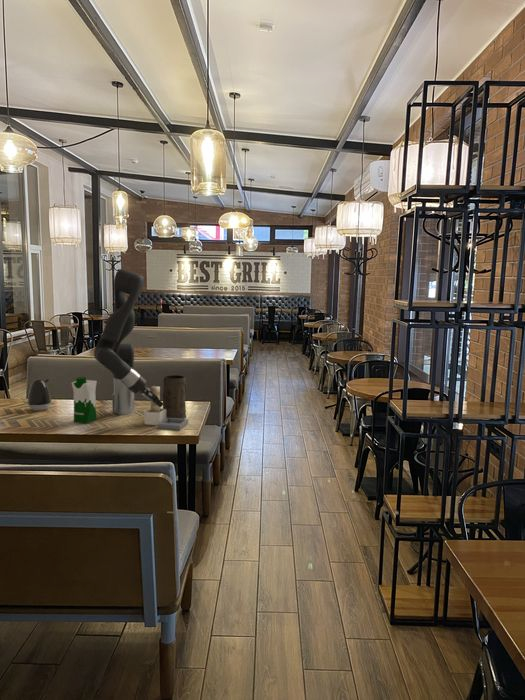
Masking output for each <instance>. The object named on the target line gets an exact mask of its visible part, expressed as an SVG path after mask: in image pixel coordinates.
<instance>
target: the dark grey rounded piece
mask: <svg viewBox="0 0 525 700" xmlns="http://www.w3.org/2000/svg"><path fill="white" fill-rule="evenodd" d="M48 382H50V379H49V378H47V379H45V380H43V379H42V378H37V379H34V380H33V381H32V383H31V385H30V389H29V392H28V397H27V405H28V406H29V408H30V410H32V411H34V412H43V411H46V410H47V409H49V408H50V406H51V403H52V397H51V393H50V390H49V387H48V385H47V383H48Z"/></svg>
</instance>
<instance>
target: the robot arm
mask: <svg viewBox="0 0 525 700" xmlns="http://www.w3.org/2000/svg"><path fill="white" fill-rule="evenodd" d="M144 284H145V278H144V276H143V275H141V274H139V273H136V272H134V271H131V270H128V269H125V268H119V269H118V270H117V271H116V273H115V276H114V280H113V297H114V302H113V303H114V304H113V313H111V314H110V316H109V317H108V318H107V320H106V323H105V325H104V327H103V331H102V335H101V336H100V338H99V340H98V342H97V344H96V345H95V348H94V351H93V356H94V358H95V360H96V361H97V362H98V363H100V364H101V365H102V366H103V367H104V368H106V369H107V370H108V371H109V372H111V374H112V375H113V393H112V394H111V397H112V398H111V400H112V403H111V405H112V406H111V407H112V414H115V415H118V416H124V415H129V414H130V415H131V414H133V413H134V412H135V394H138V393H139V394H140V395H141V396H143V397H144V398H146V399H147V400H150V401H151V400H152V401H153V402H154V403H156V404H157V405H158V406H159V407H160V408H162V407H163V401H161V399H160V400H159V398H158V397H157V396H156V395H155V394H154V393H153V392H152V391H151V388H150V387H148V386H146V385H147V379H145V378H144V377H143V376H142V375H141V374H140V373H139V372H138V371H137V370H135V369H134V367H135V366H134V365H135V349H134V348H135V347H134V345H133V344H132V343H122V342H123V340H124V339H125V338H126V337H128V335H130V334H131V333H132V331H133V329H134V327H135V322H136V321H135V320H136V314H135V313H136V312H135V310H134V307H135V305H136V303H137V301H138V299H139V297H140V294H141V292H142V290H143V288H144ZM127 295H129V296H128V298H127ZM154 397H155V399H154ZM153 399H154V400H153Z"/></svg>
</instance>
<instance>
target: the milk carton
mask: <svg viewBox="0 0 525 700" xmlns="http://www.w3.org/2000/svg"><path fill="white" fill-rule="evenodd" d="M97 383H98V380H92V379H91V380H90V379H87V377H84V376H79V377H76V378H75V381H72V382H71V387H72V390H73V393H72V394H73V423H77V422H78V423H80V424H85V423H87V424H90V423H92V422H95V421H97V420H98V418H97V417H98V416H97V409H96V408H97V403H96V398H97V397H96V390H97V389H96V388H97ZM94 420H95V421H94ZM89 422H90V423H89Z"/></svg>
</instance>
